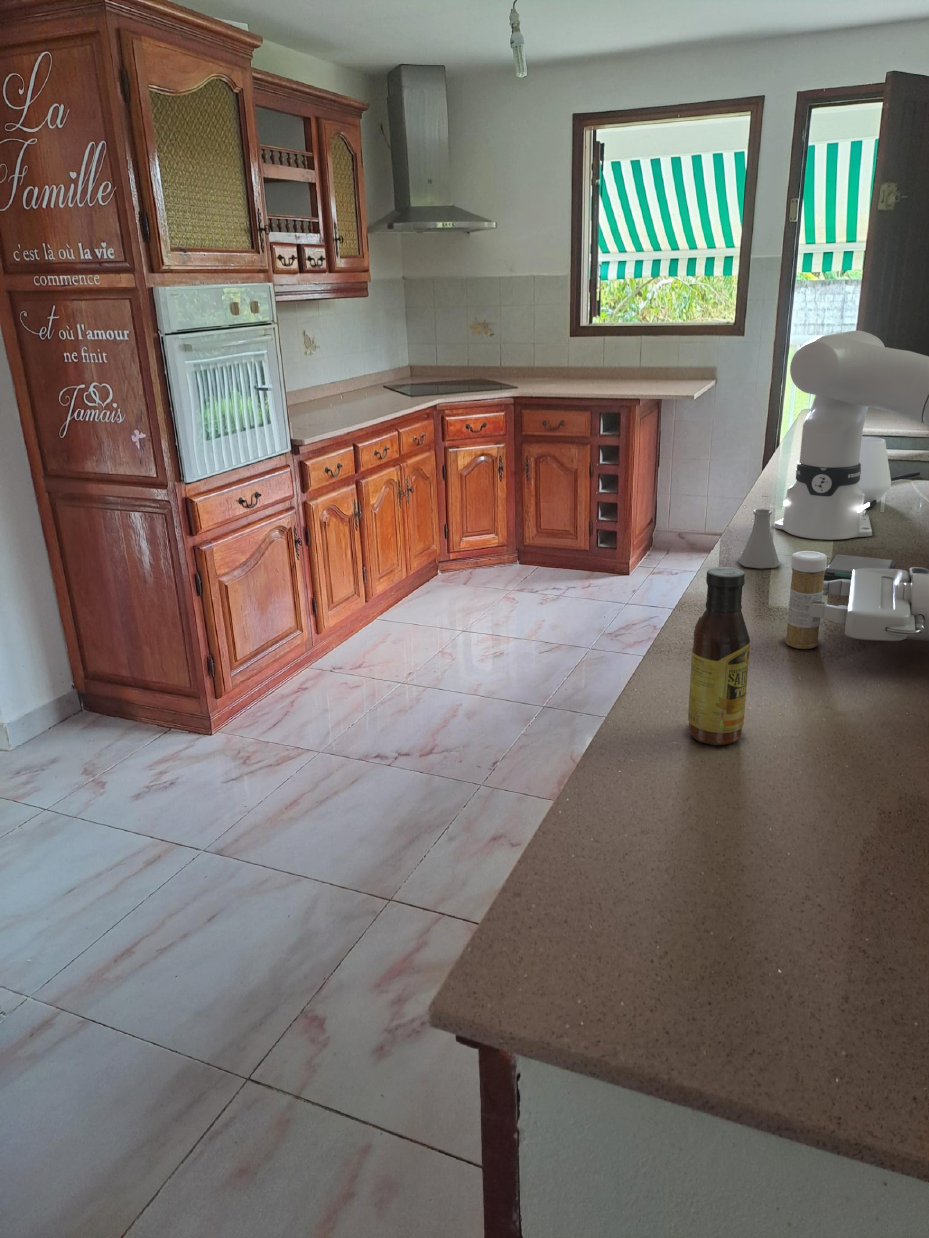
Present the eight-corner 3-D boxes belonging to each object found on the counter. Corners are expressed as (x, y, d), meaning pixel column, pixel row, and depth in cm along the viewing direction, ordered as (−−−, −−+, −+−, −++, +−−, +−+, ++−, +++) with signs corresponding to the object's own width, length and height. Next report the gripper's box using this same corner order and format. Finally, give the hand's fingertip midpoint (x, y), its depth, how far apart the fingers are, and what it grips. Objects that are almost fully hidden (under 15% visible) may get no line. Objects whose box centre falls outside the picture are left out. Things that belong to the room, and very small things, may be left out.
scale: (833, 567, 158) (835, 551, 157) (894, 574, 153) (896, 557, 152) (820, 587, 149) (822, 570, 148) (884, 594, 144) (887, 577, 143)
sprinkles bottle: (801, 636, 129) (809, 548, 124) (825, 646, 125) (835, 555, 121) (777, 642, 127) (785, 553, 123) (801, 652, 123) (810, 561, 119)
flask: (781, 570, 158) (786, 516, 155) (739, 569, 160) (743, 515, 156) (776, 558, 165) (781, 506, 161) (736, 558, 166) (740, 506, 163)
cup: (893, 496, 206) (901, 436, 201) (884, 508, 196) (892, 446, 191) (832, 491, 213) (838, 433, 208) (820, 503, 202) (826, 442, 198)
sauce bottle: (733, 753, 98) (745, 584, 91) (679, 740, 102) (687, 577, 95) (749, 728, 103) (762, 567, 97) (697, 717, 107) (706, 560, 100)
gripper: (921, 658, 110) (804, 645, 116) (917, 605, 128) (815, 596, 133) (928, 610, 108) (808, 600, 114) (923, 563, 125) (819, 556, 131)
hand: (812, 597), depth 123 cm, fingers open, 8 cm apart
